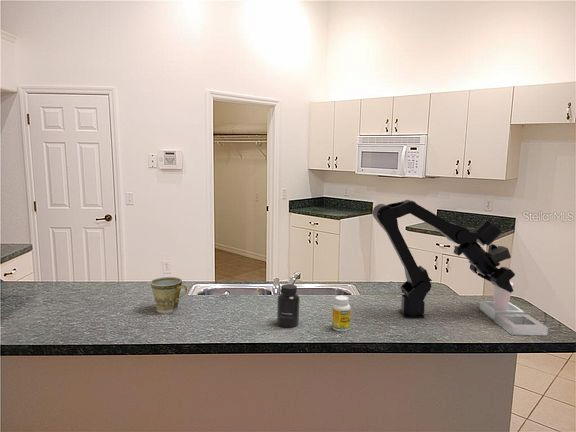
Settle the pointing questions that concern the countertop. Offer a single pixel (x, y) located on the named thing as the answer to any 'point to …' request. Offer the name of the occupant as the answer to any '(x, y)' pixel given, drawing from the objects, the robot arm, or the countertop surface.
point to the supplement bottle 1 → (288, 306)
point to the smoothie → (501, 298)
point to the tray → (489, 310)
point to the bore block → (514, 324)
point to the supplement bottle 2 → (341, 314)
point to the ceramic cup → (167, 293)
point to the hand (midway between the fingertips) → (506, 288)
